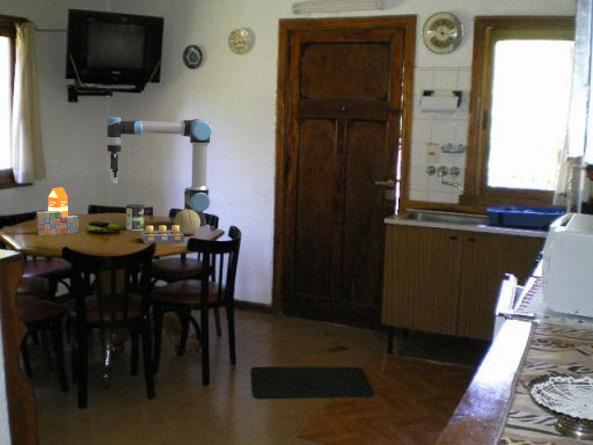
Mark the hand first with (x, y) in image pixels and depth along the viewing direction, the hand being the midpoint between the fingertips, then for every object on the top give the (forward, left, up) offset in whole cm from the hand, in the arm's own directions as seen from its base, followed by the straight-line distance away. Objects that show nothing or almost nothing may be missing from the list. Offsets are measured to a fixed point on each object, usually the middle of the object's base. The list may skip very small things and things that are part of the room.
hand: (114, 181), depth 407 cm
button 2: (-29, +35, -25) cm, 52 cm away
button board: (-22, +35, -28) cm, 50 cm away
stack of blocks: (+31, +6, -28) cm, 42 cm away
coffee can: (-12, -1, -28) cm, 31 cm away
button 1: (-15, +35, -25) cm, 46 cm away
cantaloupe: (-39, +19, -28) cm, 52 cm away
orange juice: (+30, -37, -28) cm, 55 cm away
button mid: (-22, +35, -25) cm, 48 cm away
